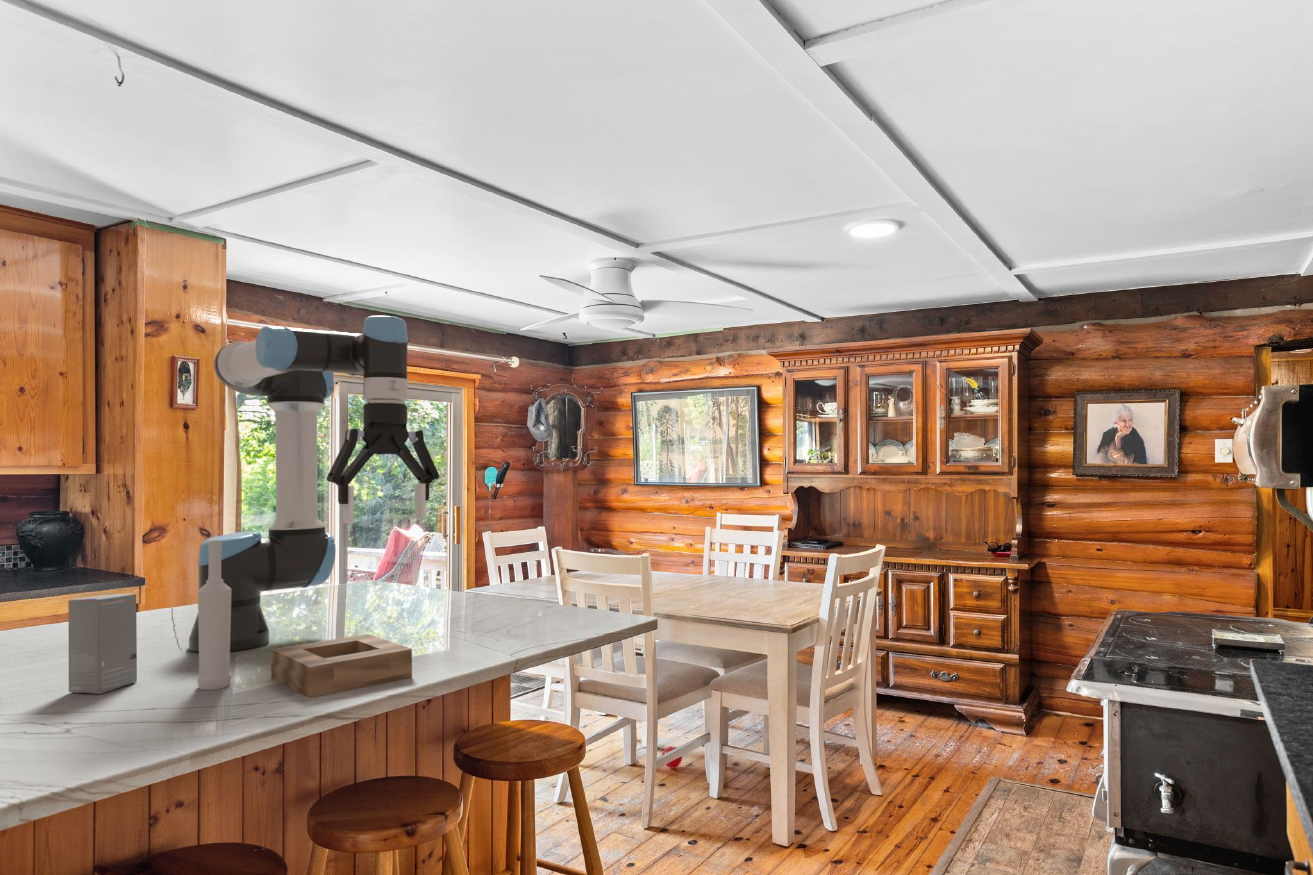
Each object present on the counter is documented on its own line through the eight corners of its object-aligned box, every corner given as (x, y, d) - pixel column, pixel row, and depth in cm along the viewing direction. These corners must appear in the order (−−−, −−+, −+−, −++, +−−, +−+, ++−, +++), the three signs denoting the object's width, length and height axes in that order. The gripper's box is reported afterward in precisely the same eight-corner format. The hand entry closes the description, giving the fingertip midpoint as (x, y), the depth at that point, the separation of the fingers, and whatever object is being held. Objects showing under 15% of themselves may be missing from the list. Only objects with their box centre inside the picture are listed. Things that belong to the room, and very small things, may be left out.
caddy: (270, 677, 148) (271, 649, 149) (368, 659, 161) (368, 633, 161) (309, 697, 135) (309, 666, 135) (412, 677, 148) (411, 648, 148)
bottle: (237, 683, 144) (238, 539, 145) (210, 691, 140) (211, 542, 140) (217, 680, 146) (218, 538, 147) (190, 688, 142) (191, 541, 142)
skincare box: (99, 695, 138) (100, 599, 138) (63, 693, 139) (64, 598, 140) (140, 681, 146) (141, 591, 147) (106, 680, 148) (107, 590, 148)
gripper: (325, 398, 138) (324, 526, 138) (457, 404, 156) (457, 517, 155) (307, 401, 144) (306, 523, 143) (437, 406, 161) (437, 515, 160)
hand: (385, 521), depth 149 cm, fingers open, 13 cm apart
